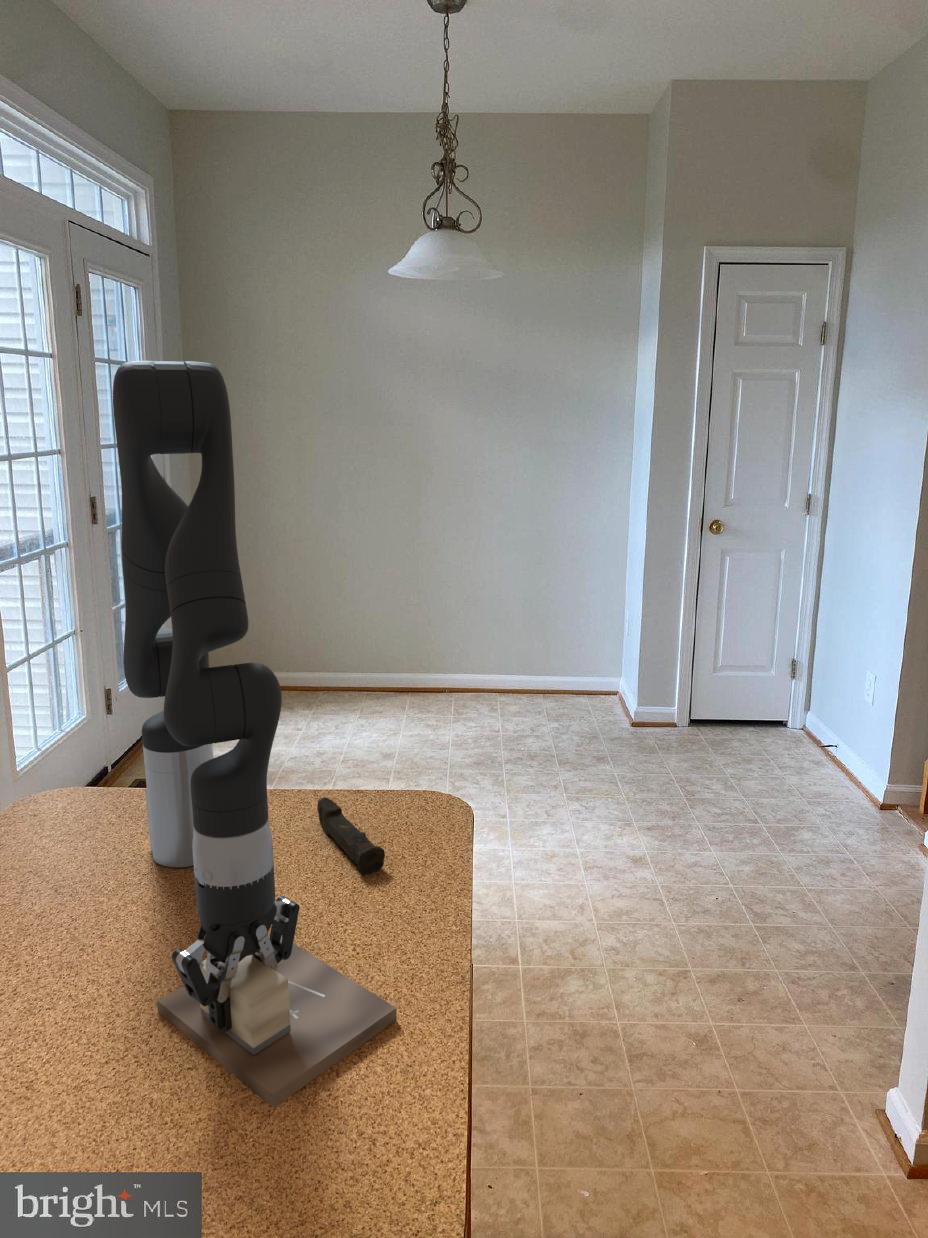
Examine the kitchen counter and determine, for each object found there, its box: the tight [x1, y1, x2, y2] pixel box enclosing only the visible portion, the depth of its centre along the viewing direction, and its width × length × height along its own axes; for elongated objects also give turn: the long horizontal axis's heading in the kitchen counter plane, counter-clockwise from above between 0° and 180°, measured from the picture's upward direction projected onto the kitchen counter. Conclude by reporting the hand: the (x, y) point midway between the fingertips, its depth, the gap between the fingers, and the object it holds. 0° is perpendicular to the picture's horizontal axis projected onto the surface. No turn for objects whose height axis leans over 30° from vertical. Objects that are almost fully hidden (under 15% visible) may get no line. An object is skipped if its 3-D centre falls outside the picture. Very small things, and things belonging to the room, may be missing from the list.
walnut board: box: [156, 935, 398, 1109], centre depth 95 cm, size 20×16×2 cm
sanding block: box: [200, 955, 291, 1055], centre depth 91 cm, size 9×4×6 cm, turn 49°
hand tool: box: [316, 796, 386, 876], centre depth 131 cm, size 19×4×5 cm, turn 29°
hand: (244, 1013), depth 91 cm, fingers closed on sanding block, 4 cm apart
